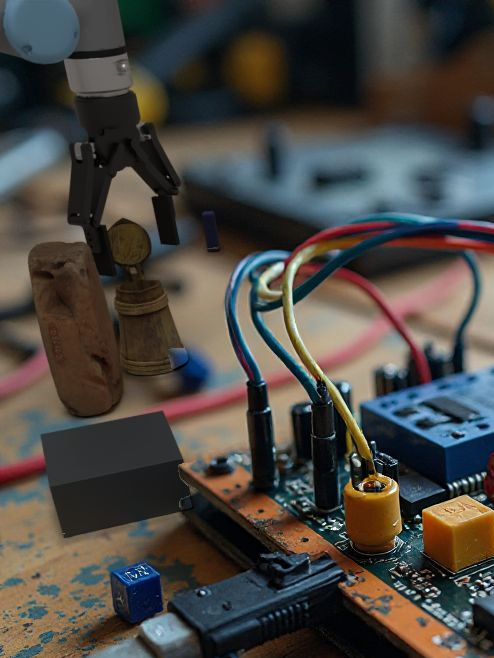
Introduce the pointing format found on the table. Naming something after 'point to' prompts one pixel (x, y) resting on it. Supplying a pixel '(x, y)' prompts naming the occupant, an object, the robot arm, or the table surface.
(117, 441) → the riser block
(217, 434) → the table surface
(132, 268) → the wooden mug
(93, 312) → the block
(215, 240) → the eraser
